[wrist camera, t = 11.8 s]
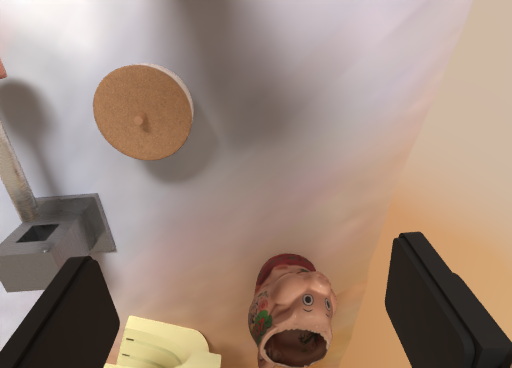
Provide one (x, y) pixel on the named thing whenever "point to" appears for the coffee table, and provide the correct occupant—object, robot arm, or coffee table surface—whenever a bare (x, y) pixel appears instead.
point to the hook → (16, 176)
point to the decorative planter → (291, 313)
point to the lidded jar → (143, 111)
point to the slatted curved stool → (163, 347)
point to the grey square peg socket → (53, 241)
